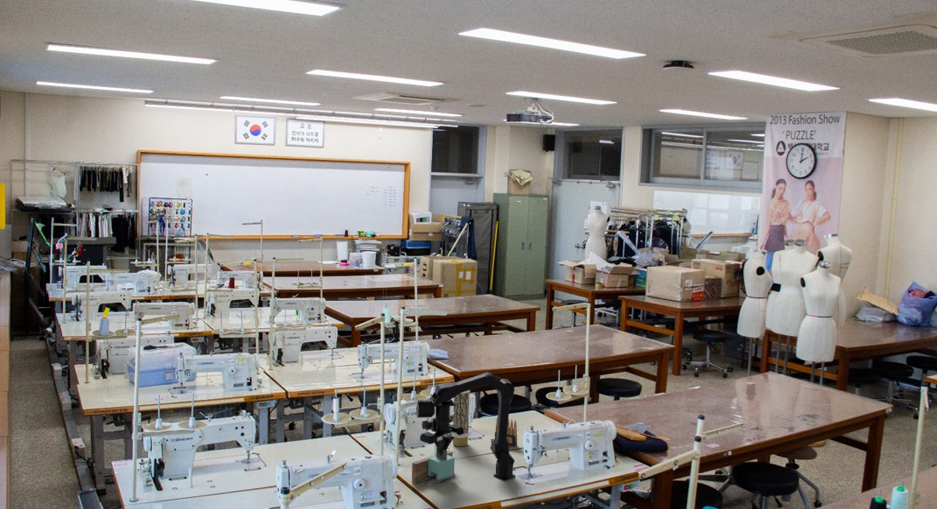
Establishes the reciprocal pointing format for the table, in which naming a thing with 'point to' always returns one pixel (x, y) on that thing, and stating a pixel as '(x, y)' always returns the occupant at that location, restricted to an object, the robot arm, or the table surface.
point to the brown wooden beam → (425, 471)
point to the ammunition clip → (510, 433)
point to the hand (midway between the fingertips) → (441, 454)
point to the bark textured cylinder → (461, 418)
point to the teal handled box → (441, 465)
